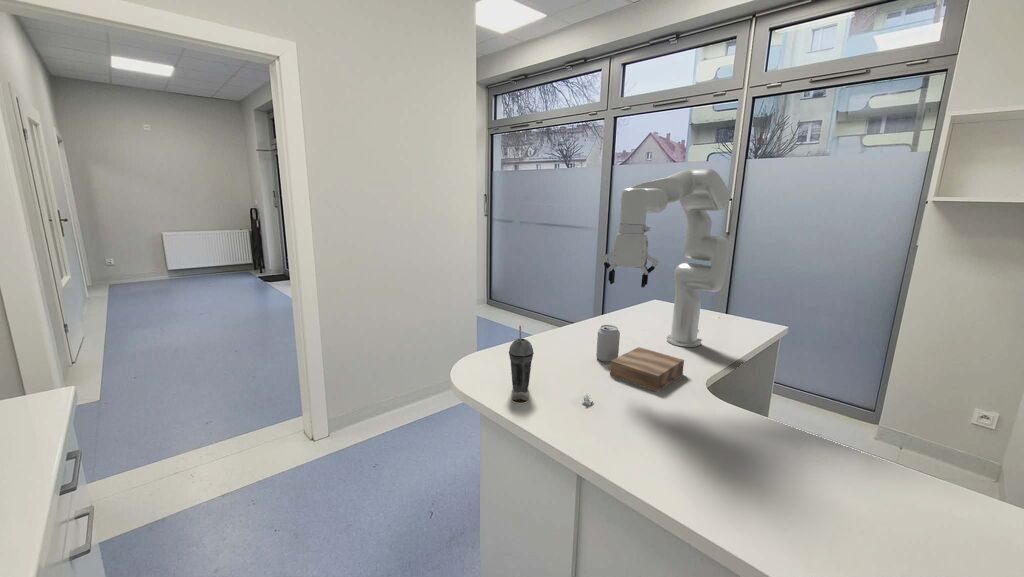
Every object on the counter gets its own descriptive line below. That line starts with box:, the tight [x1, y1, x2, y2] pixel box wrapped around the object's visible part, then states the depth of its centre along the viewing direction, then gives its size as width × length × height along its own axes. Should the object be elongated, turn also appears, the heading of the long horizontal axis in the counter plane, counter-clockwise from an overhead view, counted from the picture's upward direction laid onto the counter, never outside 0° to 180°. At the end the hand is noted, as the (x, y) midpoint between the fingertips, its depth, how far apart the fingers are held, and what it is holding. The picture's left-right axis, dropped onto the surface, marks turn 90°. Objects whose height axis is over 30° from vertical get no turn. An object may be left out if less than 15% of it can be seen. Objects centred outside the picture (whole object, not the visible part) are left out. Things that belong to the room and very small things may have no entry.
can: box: [596, 324, 621, 364], centre depth 147 cm, size 8×8×12 cm
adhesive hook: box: [581, 392, 595, 406], centre depth 117 cm, size 3×3×3 cm
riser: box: [609, 346, 685, 392], centre depth 136 cm, size 18×16×5 cm
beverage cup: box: [508, 325, 534, 393], centre depth 123 cm, size 7×7×20 cm
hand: (627, 285), depth 132 cm, fingers open, 9 cm apart
